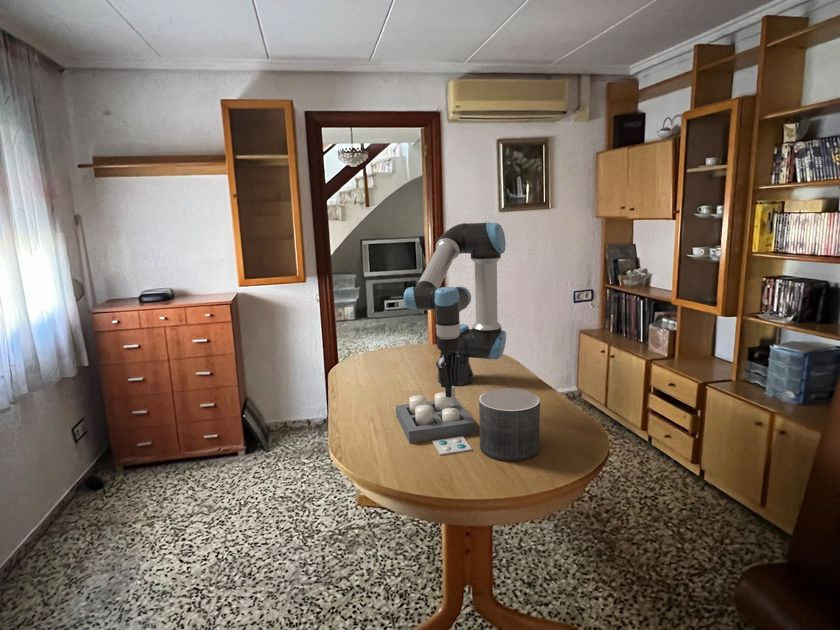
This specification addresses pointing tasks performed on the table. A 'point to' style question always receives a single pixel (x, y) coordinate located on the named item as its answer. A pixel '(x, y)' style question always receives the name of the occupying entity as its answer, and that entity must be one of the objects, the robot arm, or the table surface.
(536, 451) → the planter
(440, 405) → the button
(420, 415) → the button
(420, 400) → the button
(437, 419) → the board
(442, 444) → the card
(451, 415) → the button
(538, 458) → the table surface
